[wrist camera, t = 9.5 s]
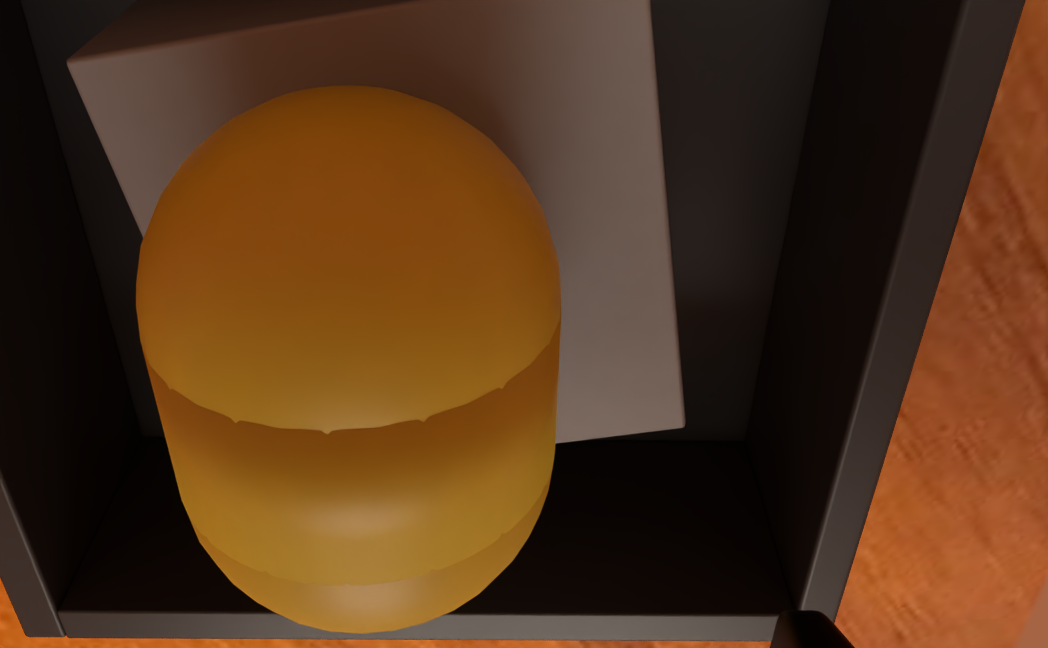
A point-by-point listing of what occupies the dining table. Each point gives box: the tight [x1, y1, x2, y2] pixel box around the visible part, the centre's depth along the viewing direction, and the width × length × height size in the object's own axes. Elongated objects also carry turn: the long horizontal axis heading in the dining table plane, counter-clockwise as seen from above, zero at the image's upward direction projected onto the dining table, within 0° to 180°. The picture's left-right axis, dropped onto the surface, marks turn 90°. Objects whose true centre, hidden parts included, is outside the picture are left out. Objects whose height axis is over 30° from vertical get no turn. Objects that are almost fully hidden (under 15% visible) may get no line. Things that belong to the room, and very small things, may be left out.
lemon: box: [136, 85, 562, 634], centre depth 13 cm, size 8×5×5 cm
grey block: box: [67, 0, 686, 444], centre depth 16 cm, size 8×8×4 cm
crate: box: [0, 0, 1025, 641], centre depth 16 cm, size 16×16×6 cm
